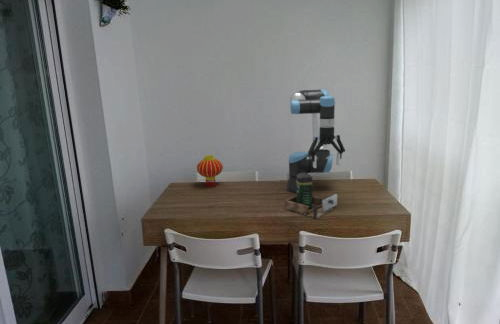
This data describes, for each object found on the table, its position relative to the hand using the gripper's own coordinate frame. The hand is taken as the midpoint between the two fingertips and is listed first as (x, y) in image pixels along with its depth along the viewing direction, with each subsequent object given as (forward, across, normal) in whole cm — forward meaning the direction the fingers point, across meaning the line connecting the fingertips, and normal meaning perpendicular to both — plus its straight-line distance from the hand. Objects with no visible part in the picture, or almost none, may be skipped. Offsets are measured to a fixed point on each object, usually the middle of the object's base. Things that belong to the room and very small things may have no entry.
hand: (326, 166), depth 193 cm
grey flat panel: (+21, -1, -7) cm, 22 cm away
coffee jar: (+22, -12, 0) cm, 25 cm away
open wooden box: (+22, -11, -2) cm, 25 cm away
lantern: (+22, -55, +60) cm, 85 cm away
